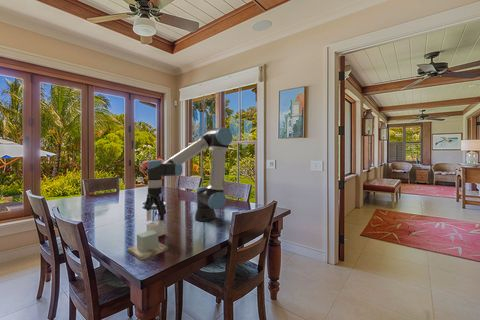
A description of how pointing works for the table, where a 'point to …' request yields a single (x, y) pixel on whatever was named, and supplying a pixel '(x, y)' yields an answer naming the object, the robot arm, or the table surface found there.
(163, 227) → the cream brick
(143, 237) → the sage brick
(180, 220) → the table surface
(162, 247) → the base plate
